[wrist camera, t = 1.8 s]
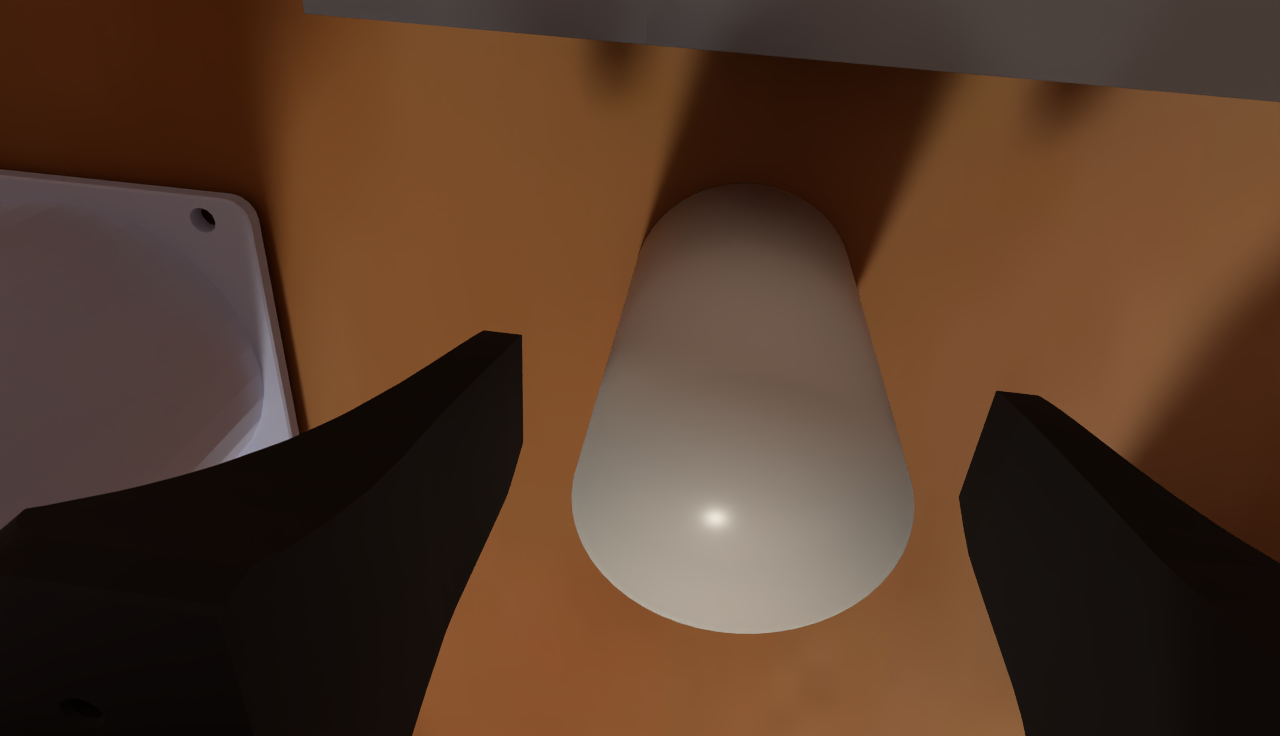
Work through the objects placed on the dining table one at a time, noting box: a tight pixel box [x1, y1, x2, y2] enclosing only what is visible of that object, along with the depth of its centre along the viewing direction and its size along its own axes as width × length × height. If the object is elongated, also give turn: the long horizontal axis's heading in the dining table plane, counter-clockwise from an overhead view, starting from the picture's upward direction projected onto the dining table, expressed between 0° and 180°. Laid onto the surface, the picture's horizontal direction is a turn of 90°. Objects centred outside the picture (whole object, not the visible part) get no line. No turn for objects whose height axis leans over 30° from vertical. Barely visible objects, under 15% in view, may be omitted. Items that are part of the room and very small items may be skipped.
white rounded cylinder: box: [572, 183, 914, 634], centre depth 13 cm, size 4×4×7 cm
